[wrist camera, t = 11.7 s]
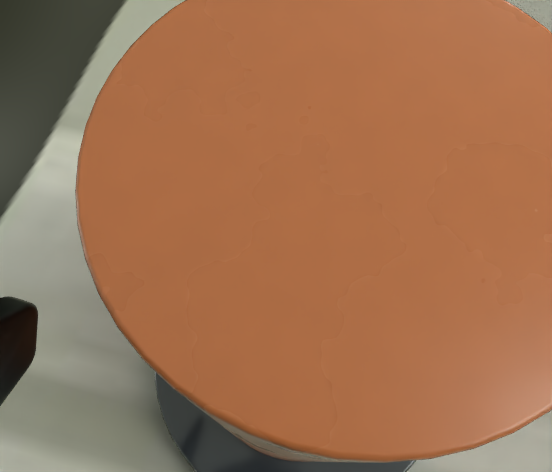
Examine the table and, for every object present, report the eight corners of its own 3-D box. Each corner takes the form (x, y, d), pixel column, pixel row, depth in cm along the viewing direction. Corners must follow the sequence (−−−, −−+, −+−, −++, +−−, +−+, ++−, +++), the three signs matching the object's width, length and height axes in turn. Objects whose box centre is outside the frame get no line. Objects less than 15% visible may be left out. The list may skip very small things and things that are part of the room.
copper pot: (377, 486, 17) (661, 552, 5) (177, 430, 17) (-33, 359, 5) (421, 218, 20) (642, -131, 8) (255, 179, 21) (238, -201, 9)
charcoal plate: (486, 457, 18) (496, 457, 17) (196, 561, 16) (192, 565, 16) (377, 202, 21) (381, 193, 21) (133, 270, 20) (128, 263, 19)
